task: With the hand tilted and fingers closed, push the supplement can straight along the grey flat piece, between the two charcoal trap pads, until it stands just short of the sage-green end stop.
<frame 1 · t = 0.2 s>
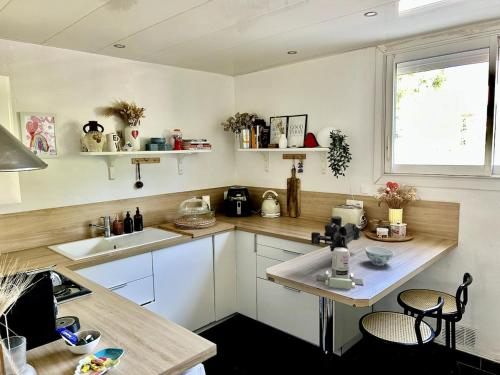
hand: (322, 244, 188), 17 cm above the worktop, tool horizontal, fingers open, 9 cm apart
supplement can: (339, 278, 187), on the worktop, touching gripper
chinaware: (378, 263, 210), on the worktop
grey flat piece: (339, 278, 187), on the worktop
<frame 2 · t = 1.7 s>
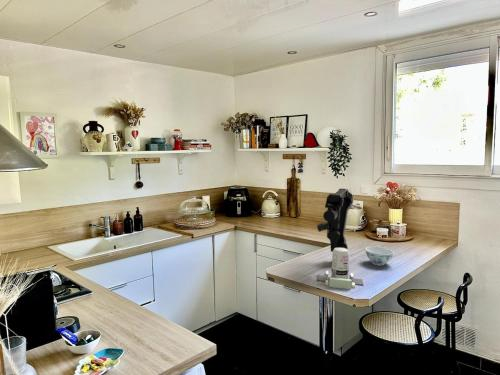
hand: (332, 247, 195), 13 cm above the worktop, tool pointing down, fingers open, 6 cm apart
supplement can: (339, 278, 187), on the worktop
everything else where it was.
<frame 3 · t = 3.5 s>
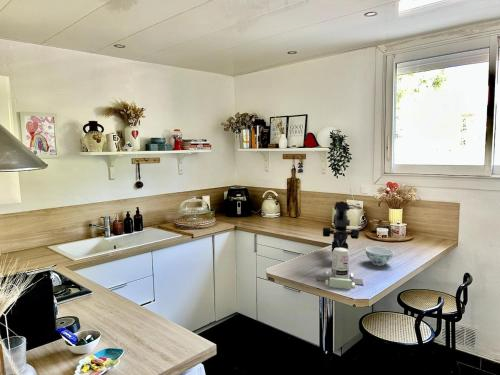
hand: (340, 247, 194), 13 cm above the worktop, tool tilted 45°, fingers closed
nothing on the worktop moved.
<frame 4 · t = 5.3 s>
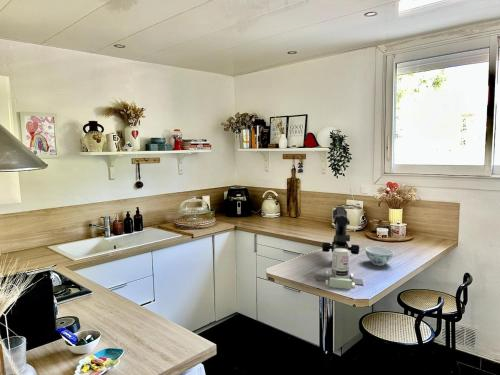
hand: (340, 262, 189), 7 cm above the worktop, tool tilted 45°, fingers closed, pressing on supplement can
supplement can: (339, 279, 186), on the worktop, touching gripper
everything else where it was.
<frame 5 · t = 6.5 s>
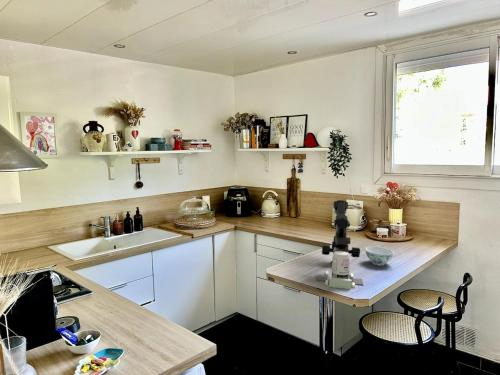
hand: (340, 266, 184), 7 cm above the worktop, tool tilted 45°, fingers closed, pressing on supplement can
supplement can: (339, 283, 181), on the worktop, touching gripper
everything else where it was.
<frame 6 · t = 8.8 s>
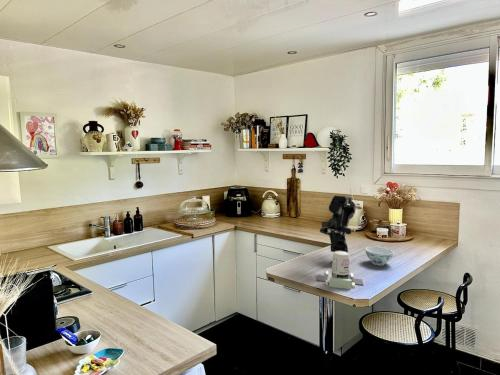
hand: (332, 246, 195), 13 cm above the worktop, tool tilted 25°, fingers closed
supplement can: (339, 283, 181), on the worktop
everything else where it was.
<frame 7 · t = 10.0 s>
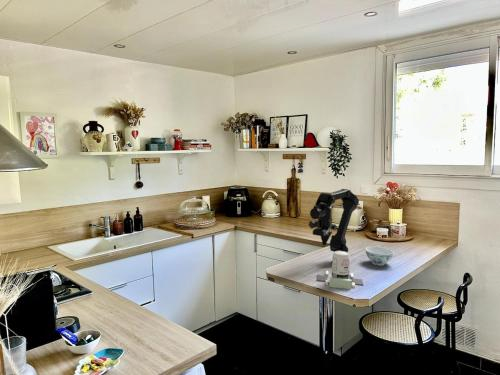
hand: (324, 245, 199), 13 cm above the worktop, tool pointing down, fingers closed
nothing on the worktop moved.
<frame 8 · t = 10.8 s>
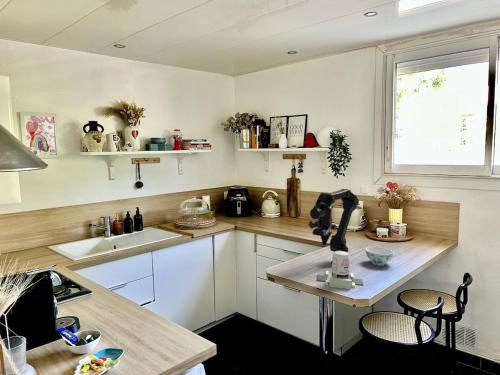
hand: (324, 245, 199), 13 cm above the worktop, tool pointing down, fingers closed
nothing on the worktop moved.
at the end: supplement can 0.8 cm from the target spot, on the worktop; supplement can tilted 0°; supplement can moved 5.8 cm from its start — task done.
